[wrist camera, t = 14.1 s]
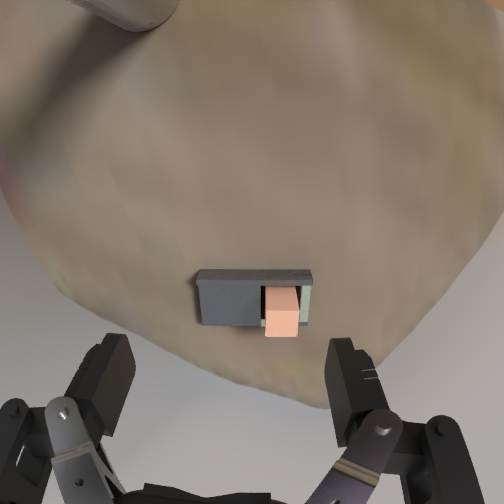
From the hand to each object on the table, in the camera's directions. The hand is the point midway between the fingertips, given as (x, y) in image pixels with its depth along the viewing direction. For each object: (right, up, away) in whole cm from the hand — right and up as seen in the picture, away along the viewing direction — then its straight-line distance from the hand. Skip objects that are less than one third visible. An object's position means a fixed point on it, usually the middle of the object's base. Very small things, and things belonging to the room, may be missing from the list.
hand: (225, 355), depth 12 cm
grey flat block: (+1, -2, +33) cm, 33 cm away
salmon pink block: (+5, -2, +33) cm, 34 cm away
